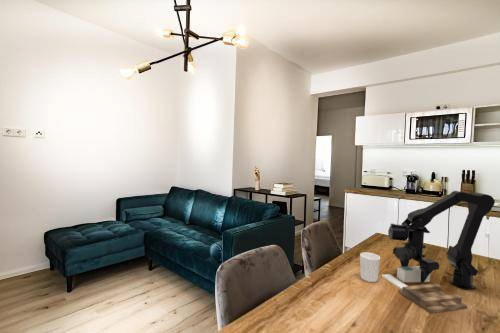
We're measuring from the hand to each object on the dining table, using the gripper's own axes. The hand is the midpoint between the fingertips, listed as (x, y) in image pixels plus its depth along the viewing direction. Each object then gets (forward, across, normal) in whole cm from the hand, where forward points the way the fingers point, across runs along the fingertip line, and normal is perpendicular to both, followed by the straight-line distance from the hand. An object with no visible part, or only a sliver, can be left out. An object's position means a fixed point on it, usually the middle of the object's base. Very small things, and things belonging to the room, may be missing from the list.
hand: (413, 277), depth 115 cm
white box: (+1, 0, 0) cm, 1 cm away
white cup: (+1, -4, -19) cm, 19 cm away
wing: (+2, +1, -10) cm, 10 cm away
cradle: (+1, +15, -7) cm, 17 cm away
